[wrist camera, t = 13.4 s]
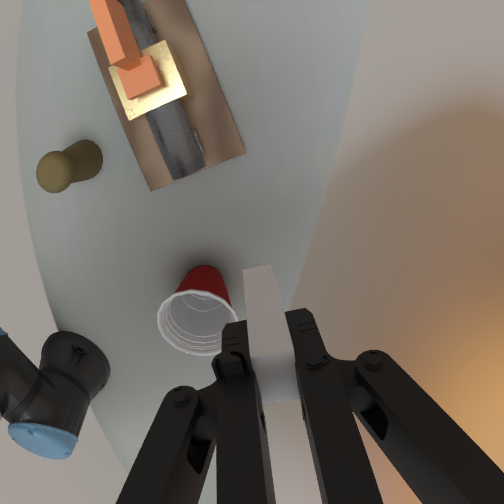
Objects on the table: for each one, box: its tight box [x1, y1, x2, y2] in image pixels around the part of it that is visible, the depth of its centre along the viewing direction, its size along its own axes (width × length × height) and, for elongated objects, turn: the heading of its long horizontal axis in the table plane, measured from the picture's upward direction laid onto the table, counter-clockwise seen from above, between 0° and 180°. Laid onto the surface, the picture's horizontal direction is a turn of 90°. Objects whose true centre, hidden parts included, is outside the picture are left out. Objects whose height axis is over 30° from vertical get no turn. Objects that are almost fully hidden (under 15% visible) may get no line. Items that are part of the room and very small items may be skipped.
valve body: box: [108, 0, 206, 180], centre depth 34 cm, size 7×24×8 cm, turn 20°
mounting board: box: [87, 0, 246, 191], centre depth 38 cm, size 14×26×2 cm, turn 20°
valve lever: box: [89, 0, 164, 100], centre depth 23 cm, size 16×4×8 cm, turn 19°
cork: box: [36, 140, 103, 193], centre depth 37 cm, size 6×6×11 cm
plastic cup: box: [157, 265, 238, 356], centre depth 45 cm, size 11×11×12 cm
